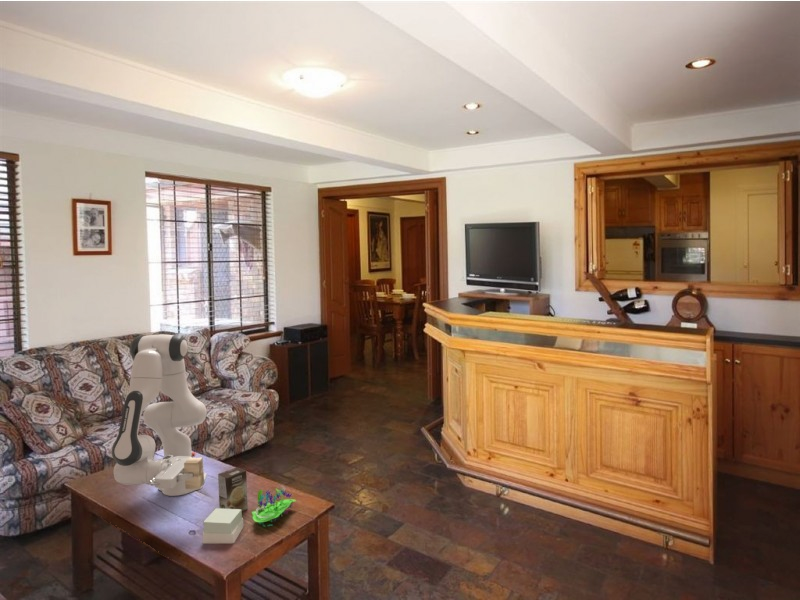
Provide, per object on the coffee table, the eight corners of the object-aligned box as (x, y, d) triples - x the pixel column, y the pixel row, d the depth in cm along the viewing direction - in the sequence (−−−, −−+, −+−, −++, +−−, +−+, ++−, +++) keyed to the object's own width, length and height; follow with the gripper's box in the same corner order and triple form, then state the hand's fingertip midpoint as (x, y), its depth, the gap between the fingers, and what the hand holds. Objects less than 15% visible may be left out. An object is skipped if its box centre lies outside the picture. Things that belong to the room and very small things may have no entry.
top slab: (216, 518, 202) (215, 508, 201) (242, 519, 201) (241, 509, 200) (203, 532, 192) (203, 522, 191) (230, 533, 191) (230, 523, 190)
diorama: (240, 523, 205) (238, 492, 203) (281, 502, 220) (280, 474, 219) (263, 535, 196) (262, 502, 195) (304, 512, 212) (303, 482, 211)
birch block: (191, 482, 203) (189, 457, 202) (204, 482, 203) (202, 457, 202) (185, 489, 198) (184, 463, 197) (199, 488, 198) (197, 463, 197)
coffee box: (228, 518, 209) (226, 478, 207) (219, 513, 213) (217, 474, 211) (248, 508, 216) (246, 470, 214) (239, 504, 220) (237, 466, 218)
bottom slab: (214, 528, 202) (214, 518, 202) (243, 528, 202) (243, 517, 202) (203, 544, 191) (202, 533, 191) (233, 544, 191) (233, 533, 191)
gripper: (145, 476, 190) (184, 475, 190) (170, 453, 210) (206, 452, 210) (146, 493, 190) (185, 492, 190) (171, 468, 211) (206, 468, 211)
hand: (196, 471), depth 200 cm, fingers closed on birch block, 5 cm apart
